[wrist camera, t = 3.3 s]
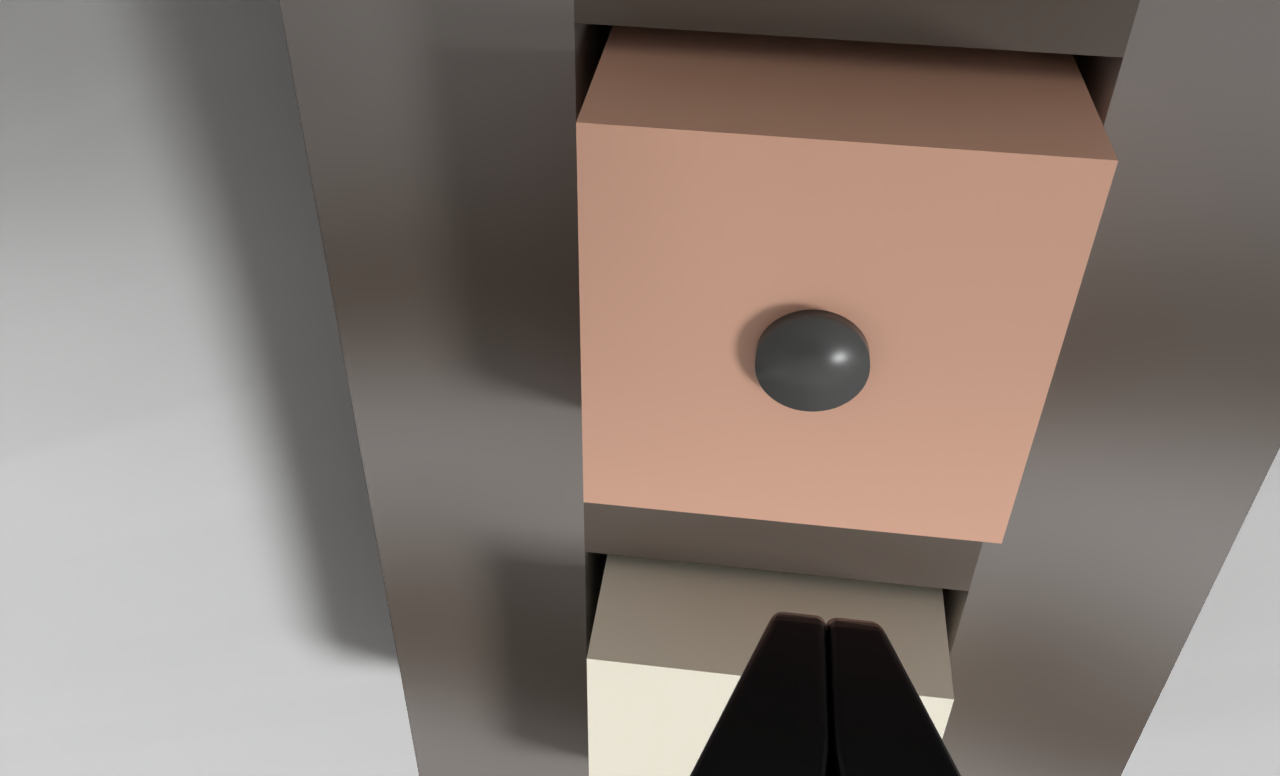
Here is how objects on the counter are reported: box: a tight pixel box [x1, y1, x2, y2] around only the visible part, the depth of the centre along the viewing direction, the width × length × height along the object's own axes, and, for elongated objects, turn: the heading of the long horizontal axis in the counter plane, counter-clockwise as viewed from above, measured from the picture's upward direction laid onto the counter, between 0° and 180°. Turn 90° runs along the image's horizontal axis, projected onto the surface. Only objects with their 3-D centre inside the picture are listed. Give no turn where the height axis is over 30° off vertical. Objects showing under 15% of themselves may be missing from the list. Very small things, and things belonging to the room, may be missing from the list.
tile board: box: [279, 0, 1280, 776], centre depth 15 cm, size 24×12×2 cm, turn 179°
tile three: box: [587, 554, 954, 776], centre depth 18 cm, size 5×5×3 cm
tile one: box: [576, 25, 1118, 544], centre depth 13 cm, size 5×5×3 cm
